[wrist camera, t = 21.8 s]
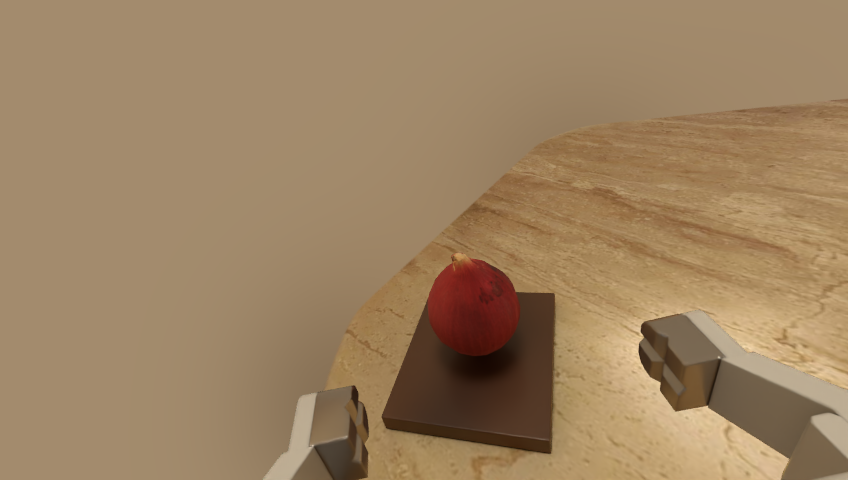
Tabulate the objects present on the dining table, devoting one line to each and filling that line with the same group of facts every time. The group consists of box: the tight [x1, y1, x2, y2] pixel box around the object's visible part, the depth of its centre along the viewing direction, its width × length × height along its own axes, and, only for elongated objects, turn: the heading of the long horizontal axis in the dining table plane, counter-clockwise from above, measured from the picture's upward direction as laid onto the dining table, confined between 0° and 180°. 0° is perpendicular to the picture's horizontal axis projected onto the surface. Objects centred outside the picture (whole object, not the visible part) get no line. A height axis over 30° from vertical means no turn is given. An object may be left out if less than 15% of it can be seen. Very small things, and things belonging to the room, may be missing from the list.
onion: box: [428, 253, 520, 356], centre depth 26 cm, size 6×6×8 cm
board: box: [382, 292, 555, 453], centre depth 28 cm, size 10×12×1 cm
